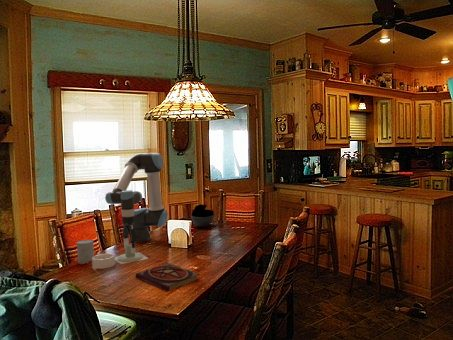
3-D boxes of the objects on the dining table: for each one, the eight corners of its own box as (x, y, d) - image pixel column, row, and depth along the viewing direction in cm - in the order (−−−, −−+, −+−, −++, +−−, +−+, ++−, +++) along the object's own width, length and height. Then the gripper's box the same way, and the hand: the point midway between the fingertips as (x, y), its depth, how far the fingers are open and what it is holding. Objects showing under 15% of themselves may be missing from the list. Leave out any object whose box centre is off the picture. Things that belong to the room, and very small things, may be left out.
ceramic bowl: (111, 262, 222) (110, 252, 222) (117, 267, 212) (116, 257, 212) (90, 266, 216) (90, 256, 216) (95, 271, 206) (95, 261, 205)
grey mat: (139, 253, 238) (139, 252, 238) (148, 260, 224) (148, 258, 224) (112, 258, 229) (112, 257, 229) (120, 265, 215) (120, 264, 215)
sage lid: (138, 252, 237) (137, 240, 236) (146, 258, 224) (145, 245, 224) (114, 257, 229) (113, 244, 228) (121, 263, 216) (121, 249, 216)
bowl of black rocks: (205, 223, 327) (205, 202, 326) (219, 226, 312) (219, 204, 311) (186, 227, 315) (186, 205, 313) (200, 230, 299) (199, 207, 298)
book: (135, 279, 194) (135, 270, 194) (168, 268, 209) (168, 259, 209) (167, 293, 174) (166, 283, 174) (201, 280, 189) (200, 270, 188)
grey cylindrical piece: (97, 259, 229) (96, 239, 229) (88, 264, 220) (86, 243, 219) (84, 258, 232) (83, 239, 231) (74, 263, 223) (73, 243, 222)
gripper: (116, 214, 233) (118, 247, 234) (128, 219, 213) (130, 256, 214) (127, 212, 237) (129, 245, 238) (140, 217, 217) (142, 254, 218)
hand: (129, 250), depth 226 cm, fingers open, 12 cm apart
